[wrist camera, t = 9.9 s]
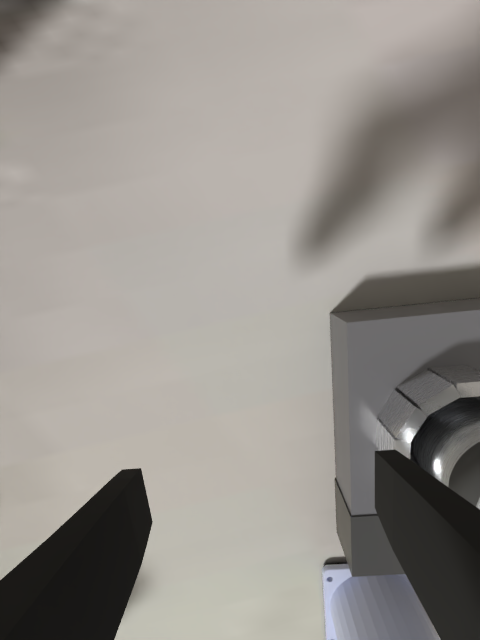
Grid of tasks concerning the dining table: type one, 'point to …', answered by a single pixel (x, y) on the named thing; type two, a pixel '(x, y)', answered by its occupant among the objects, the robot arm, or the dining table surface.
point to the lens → (452, 447)
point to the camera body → (391, 403)
